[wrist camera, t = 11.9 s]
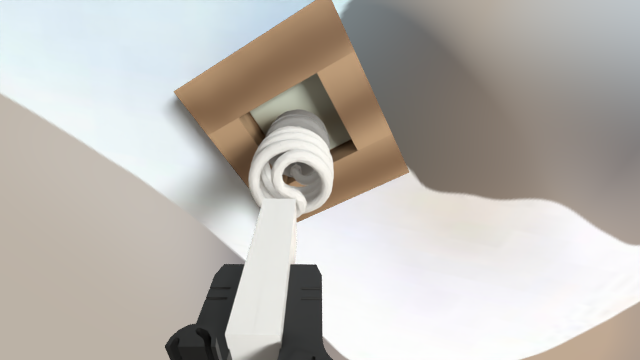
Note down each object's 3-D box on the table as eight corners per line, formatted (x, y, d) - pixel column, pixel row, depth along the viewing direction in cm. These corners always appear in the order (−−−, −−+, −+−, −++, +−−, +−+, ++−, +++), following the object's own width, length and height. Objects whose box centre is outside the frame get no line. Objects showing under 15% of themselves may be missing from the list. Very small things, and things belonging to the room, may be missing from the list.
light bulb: (266, 99, 27) (231, 155, 16) (328, 95, 27) (332, 148, 16) (275, 156, 30) (250, 235, 19) (331, 152, 29) (337, 230, 19)
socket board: (192, 81, 27) (173, 91, 24) (326, -5, 24) (327, -8, 20) (284, 207, 34) (280, 229, 31) (399, 154, 31) (409, 172, 27)
